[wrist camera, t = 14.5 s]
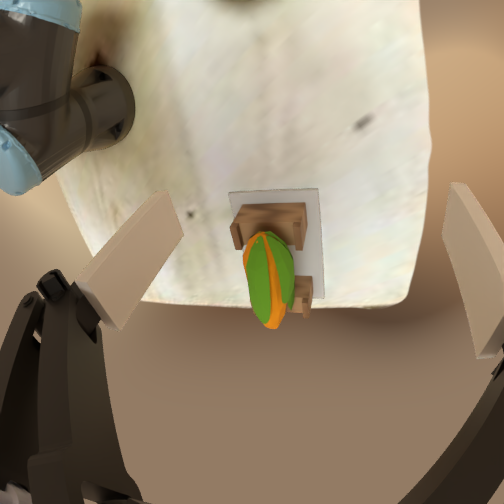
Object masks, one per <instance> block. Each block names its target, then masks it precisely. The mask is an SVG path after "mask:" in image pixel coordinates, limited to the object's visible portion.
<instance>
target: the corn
mask: <svg viewBox="0 0 504 504" xmlns="http://www.w3.org/2000/svg"><path fill="white" fill-rule="evenodd" d="M280 242H281V243H280ZM243 265H244V269H245V273H246V277H247V281H248V287H249V294H250V300H251V303H252V306H253V309H254V312H255V314H256V315H257V317H258V318H259V320H260V321H261V322H262V323H263V324H264V325H265V327H268V328H271V329H276V328H278V326H279V324H280V322H281V320H282V318H283V316H284V314H285V311H286V304H287V302H288V306H289V308H290V310H292V308H293V304H294V297H295V275H294V260H293V256H292V254H291V252H290V250H289V248H288V246H287V244H286V243H285V242H284V241H283V240H282V239H280V238H279V237H278V236H277V235H275V234H274V233H272V232H271V231H268V232H260V231H259V232H258V233H256V234H254V235H253V236H251V237H250V239H249V241H248V243H247V246H246V249H245V251H244V254H243Z"/></svg>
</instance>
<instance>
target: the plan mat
mask: <svg viewBox="0 0 504 504" xmlns="http://www.w3.org/2000/svg"><path fill="white" fill-rule="evenodd" d="M228 196H229V199H230V203H231V207H232V211H233V215H234V219H235V217H236V215H237V213H238V212H239V210H240V208H241V206H242V204H262V203H297V202H305V203H306V212H307V222H308V226H307V231H306V236H305V241H304V246H303V251H296V249H295V245H287V246H288V248H289V250H290V252H291V254H292V256H293V260H294V275H300V276H312V278H313V297H312V298H315V299H324V272H323V252H322V235H321V221H320V208H319V196H318V188H313V189H281V190H258V191H240V192H229V193H228ZM246 246H247V245H244V247H243V253H244V251H245V249H246Z"/></svg>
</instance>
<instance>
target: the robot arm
mask: <svg viewBox="0 0 504 504" xmlns="http://www.w3.org/2000/svg"><path fill="white" fill-rule="evenodd" d="M81 14H82V4H81V2H80V1H79V0H0V188H1V189H2V190H3V191H4V192H6V193H8V194H10V195H14V196H19V195H22V194H24V193H26V192H27V191H29V190H30V189H32V188H33V187H35V186H37V185H40V183H41V182H42V181H44V180H45V179H47V178H48V177H49V176H50V175H52V174H53V173H54V172H56V171H57V170H58V169H60V168H61V167H63V166H64V165H65V164H67V163H68V162H70V161H71V160H72V159H74V158H75V157H77V156H78V155H80V154H81V153H83V152H88V151H94V150H100V149H106V148H108V147H111V146H112V145H114V144H116V143H117V142H119V141H120V140H122V139H123V138H124V137H125V136H126V135H127V133H128V132H129V130H130V128H131V126H132V123H133V119H134V113H135V104H134V97H133V93H132V90H131V88H130V86H129V84H128V82H127V80H126V79H125V78H124V76H123V75H122V74H121V73H120V72H118V71H117V70H116V69H114V68H112V67H109V66H105V65H98V66H93V67H90V68H86V69H84V70H82V71H80V72H79V73H77V74H76V75H75V76H74V77H72V70H73V63H74V57H75V51H76V45H77V39H78V34H79V33H80V29H79V27H80V20H81ZM183 236H184V234H183V231H182V228H181V226H180V223H179V220H178V218H177V215H176V212H175V209H174V207H173V204H172V201H171V198H170V195H169V192H168V190H165V191H156V192H155V193H154V194H153V195H152V196H151V197H150V198H149V199H148V200H147V201H146V202H145V203H144V204H143V205H142V206H141V207H140V208H139V209H138V210H137V211H136V212H135V213H134V214H133V215H132V216H131V217H130V218H129V219H128V220H127V221H126V222H125V223H124V224H123V226H122V227H121V228H120V229H119V230H118V231H117V232H116V233H115V234H114V235H113V236H112V238H111V239H110V240H109V241H108V242H107V243H106V244H105V245H104V246H103V248H102V249H101V250H100V251H99V252H98V253H97V254H96V256H95V257H94V258H93V259H92V260H91V261H90V263H89V264H88V265H87V266H86V267H85V269H84V270H83V271H82V272H81V273H80V275H79V276H78V277H77V278H76V280H75V281H74V282H73V283H72V285H71V286H70V285H69V284H68V282H67V281H66V279H65V277H64V276H63V274H62V273H61V271H60V270H58V269H54V270H51V271H49V272H48V273H46V274H45V275H44V276H43V277H42V278H41V279H40V280H39V281H38V283H37V285H36V286H37V288H38V290H39V291H40V292H41V294H42V295H43V297H44V298H45V299H42V298H41V296H40V295H39V293H38V292H36V291H33V292H31V293H28V294H27V295H25V296H24V298H23V299H22V300H21V302H20V304H19V306H18V308H17V310H16V312H15V315H14V317H13V319H12V322H11V324H10V326H9V329H8V332H7V334H6V336H5V339H4V342H3V344H2V347H1V350H0V504H84V500H83V498H85V499H88V500H91V501H94V502H96V503H98V504H151V503H147V502H143V499H142V496H141V493H140V491H139V488H138V486H137V484H136V483H135V481H134V480H133V479H132V478H131V477H130V476H129V474H128V473H127V471H126V469H125V466H124V462H123V458H122V455H121V451H120V447H119V442H118V438H117V433H116V429H115V424H114V419H113V414H112V408H111V404H110V397H109V392H108V384H107V378H106V370H105V362H104V354H103V344H102V333H101V328H100V327H99V325H98V323H99V321H100V320H102V321H103V322H104V324H105V325H106V326H107V328H109V329H113V330H117V331H121V330H122V328H123V327H124V325H125V323H126V322H127V320H128V319H129V317H130V315H131V314H132V312H133V311H134V309H135V307H136V306H137V304H138V303H139V301H140V300H141V298H142V297H143V295H144V293H145V292H146V290H147V289H148V287H149V286H150V284H151V283H152V281H153V280H154V278H155V277H156V275H157V274H158V272H159V271H160V269H161V268H162V266H163V265H164V263H165V262H166V260H167V259H168V257H169V256H170V254H171V253H172V251H173V250H174V249H175V247H176V246H177V244H178V243H179V241H180V240H181V238H182V237H183ZM442 238H443V241H444V244H445V246H446V249H447V251H448V255H449V257H450V260H451V263H452V266H453V269H454V272H455V275H456V278H457V282H458V285H459V288H460V291H461V295H462V298H463V301H464V306H465V309H466V313H467V317H468V321H469V325H470V330H471V334H472V339H473V343H474V348H475V354H476V358H477V359H484V358H493V357H495V356H496V355H497V353H498V352H499V350H500V349H501V347H502V348H503V352H504V244H503V242H502V240H501V238H500V237H499V235H498V233H497V231H496V230H495V228H494V226H493V225H492V223H491V221H490V220H489V218H488V216H487V215H486V213H485V212H484V210H483V209H482V207H481V206H480V204H479V202H478V201H477V200H476V198H475V197H474V195H473V194H472V192H471V191H470V189H469V188H468V187H467V185H466V184H465V183H452V182H451V183H450V189H449V195H448V202H447V208H446V215H445V220H444V226H443V231H442ZM34 330H35V331H36V332H37V333H38V335H39V336H40V337H41V343H39V342H38V341H37V340H36V339H35V337H34V336H33V333H34ZM491 374H492V375H493V377H492V379H491V381H490V383H489V385H488V386H487V388H486V390H485V392H484V393H483V395H482V397H481V398H480V400H479V402H478V403H477V405H476V407H475V408H474V410H473V412H472V413H471V415H470V416H469V418H468V419H467V421H466V422H465V424H464V425H463V427H462V428H461V430H460V431H459V432H458V434H457V435H456V437H455V438H454V439H453V441H452V442H451V443H450V445H449V446H448V448H447V449H446V450H445V451H444V453H443V454H442V455H441V456H440V458H439V459H438V460H437V461H436V463H435V464H434V465H433V466H432V467H431V469H430V470H429V471H428V472H427V473H426V474H425V475H424V477H423V478H422V479H421V480H420V481H419V482H418V483H417V484H416V486H415V487H414V488H413V489H412V490H411V491H410V492H409V493H408V494H407V495H406V496H405V497H404V498H403V499H402V500H401V501H400V502H399V503H398V504H487V503H488V501H489V500H490V499H491V497H492V496H493V494H494V493H495V491H496V490H497V488H498V487H499V485H500V484H501V482H502V480H503V479H504V358H503V359H502V360H501V362H500V363H499V364H498V366H497V367H496V368H495V370H494V371H493V372H492V373H491Z"/></svg>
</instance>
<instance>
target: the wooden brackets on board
mask: <svg viewBox="0 0 504 504" xmlns="http://www.w3.org/2000/svg"><path fill="white" fill-rule="evenodd" d="M307 226H308V222H307V212H306V203H305V202H297V203H262V204H242V206H241V208H240V210H239V212H238V213H237V215H236V217H235V219H234V221H233V222H232V224H231V226H230V231H231V235H232V238H233V242H234V245H235V249H236V250H242V249H243V247H244V245H247V243H248V241H249V239H250V237H251V236H253V235H254V234H256V233H258V232H259V231H260V232H268V231H271V232H272V233H274V234H275V235H277V236H278V237H279V238H280V239H282V240H283V241H284V242H285V243H286V244H287V245H295V249H296V251H303V246H304V241H305V236H306V231H307ZM280 243H281V242H280ZM312 297H313V278H312V276H300V275H295V297H294V304H293V308H292V310H290V308H289V306H288V302H287V304H286V311H285V312H296V313H303V318H309V315H310V310H311V304H312ZM250 302H251V300H250ZM251 306H252V303H251ZM252 309H253V306H252ZM253 313H254V314H255V312H254V309H253ZM255 315H256V314H255Z"/></svg>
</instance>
